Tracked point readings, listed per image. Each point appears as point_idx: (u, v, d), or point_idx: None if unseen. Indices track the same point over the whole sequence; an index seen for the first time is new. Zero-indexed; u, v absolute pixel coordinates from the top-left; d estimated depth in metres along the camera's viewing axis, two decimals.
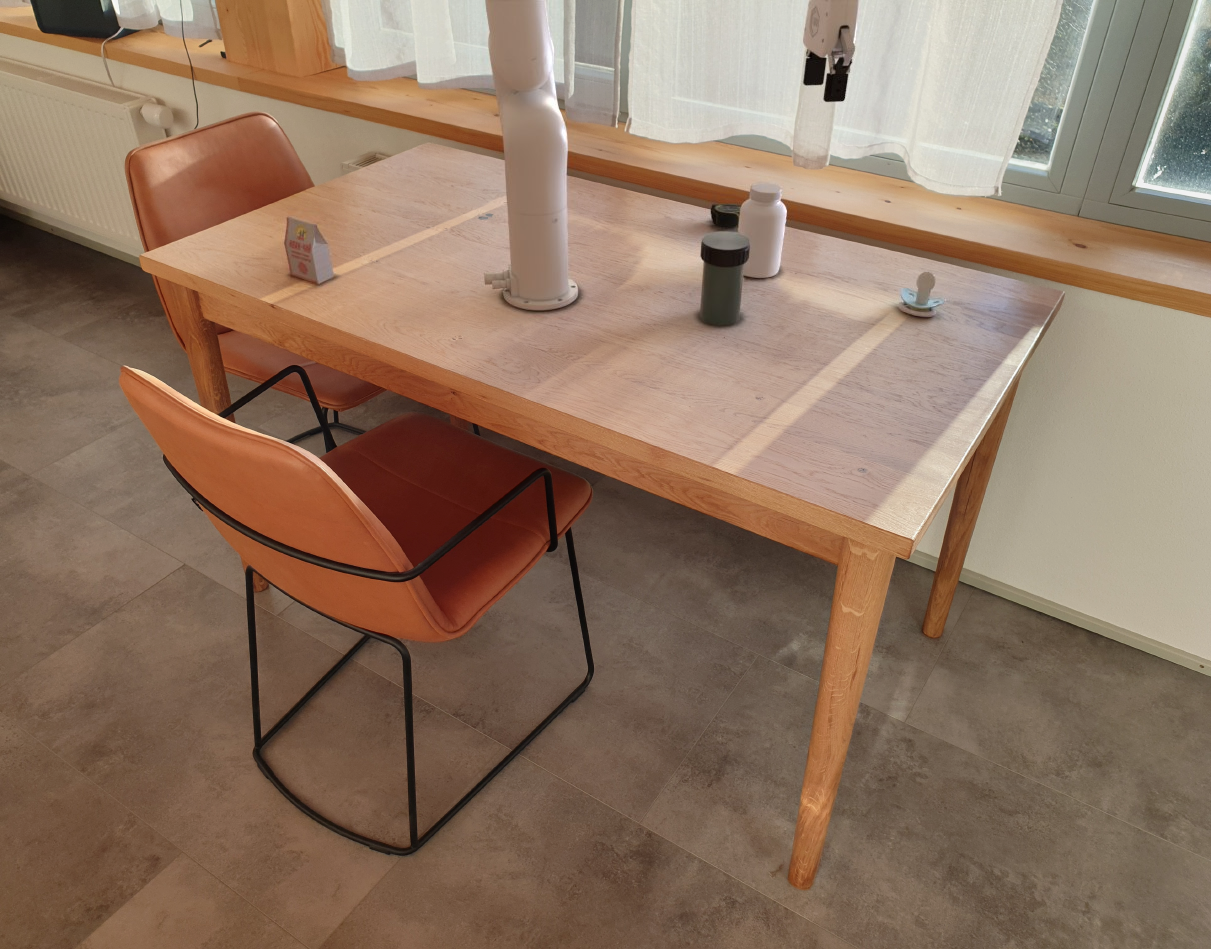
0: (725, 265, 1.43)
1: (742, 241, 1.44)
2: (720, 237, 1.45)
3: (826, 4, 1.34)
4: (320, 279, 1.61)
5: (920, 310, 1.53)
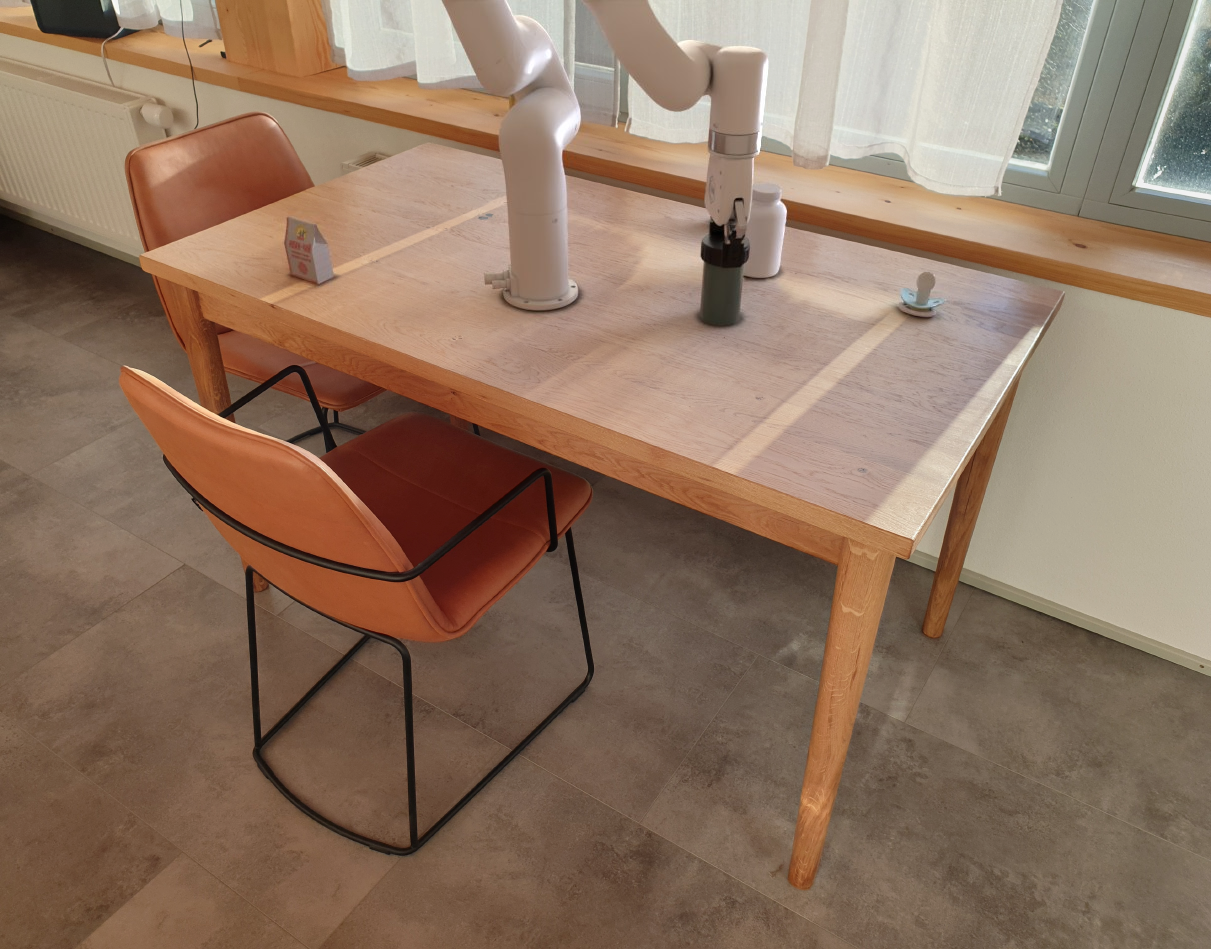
0: None
1: None
2: (720, 237, 1.45)
3: (720, 178, 1.34)
4: (320, 279, 1.61)
5: (920, 310, 1.53)
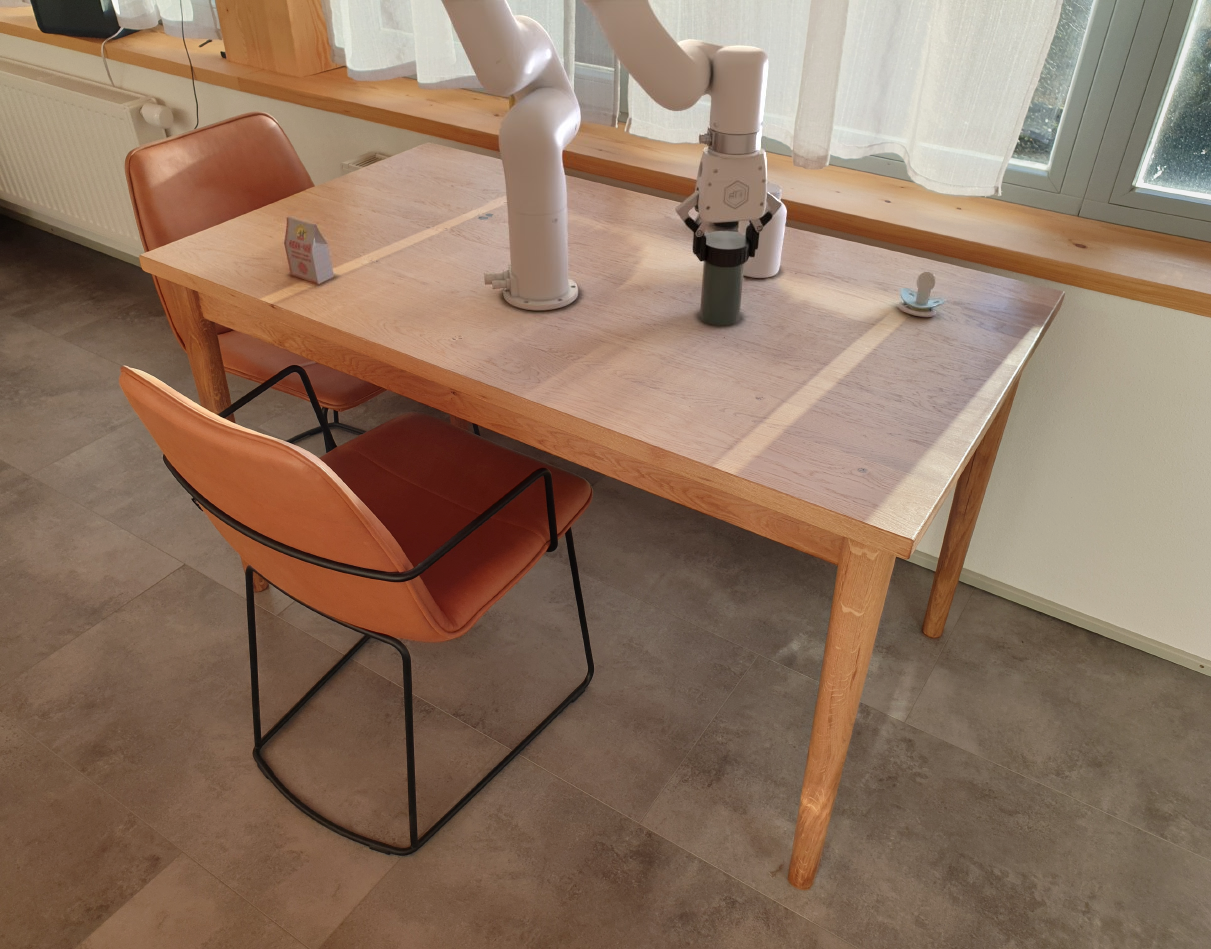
0: None
1: (725, 233, 1.46)
2: (719, 241, 1.43)
3: (760, 173, 1.36)
4: (320, 279, 1.61)
5: (920, 310, 1.53)
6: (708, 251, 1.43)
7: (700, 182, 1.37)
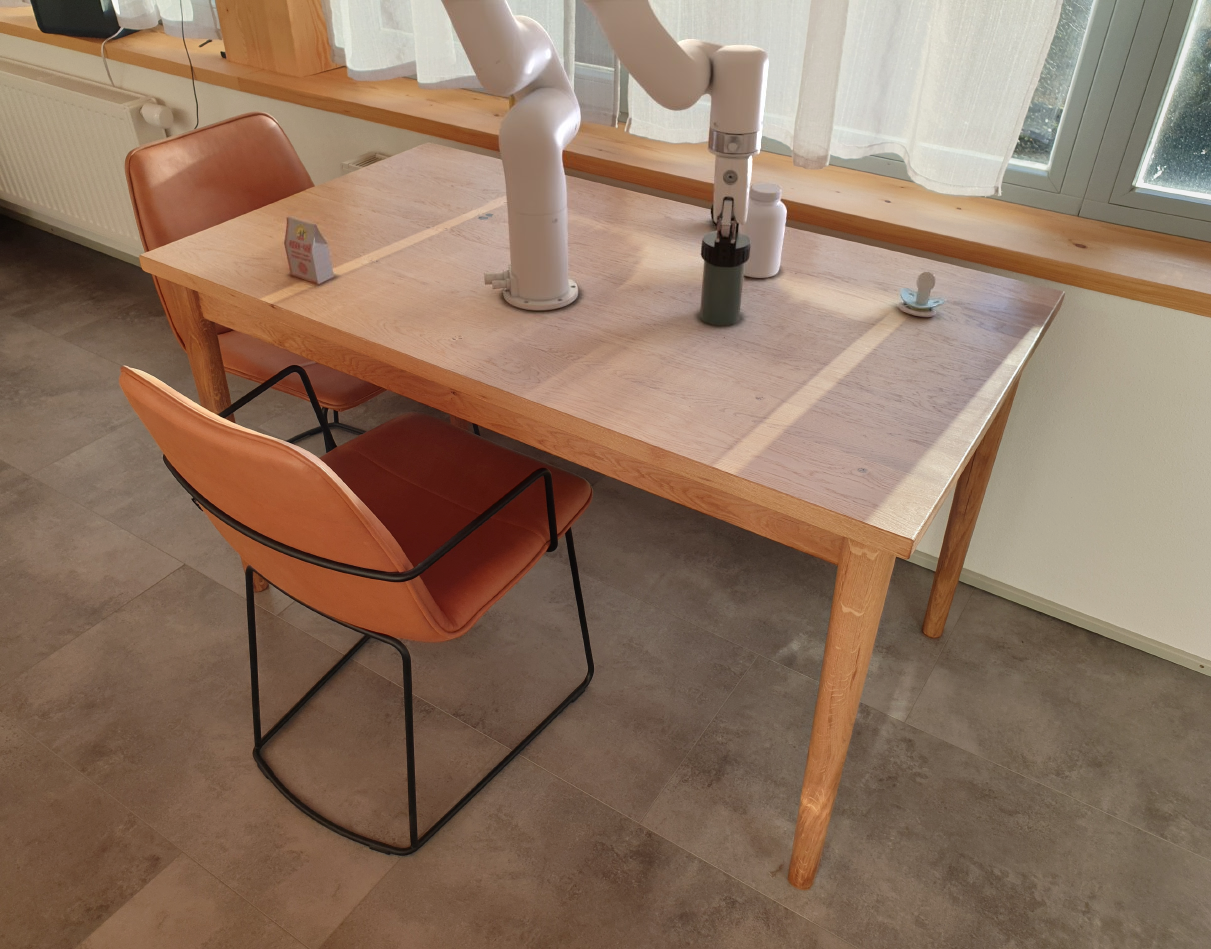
0: None
1: (711, 236, 1.45)
2: None
3: None
4: (320, 279, 1.61)
5: (920, 310, 1.53)
6: None
7: (735, 189, 1.34)
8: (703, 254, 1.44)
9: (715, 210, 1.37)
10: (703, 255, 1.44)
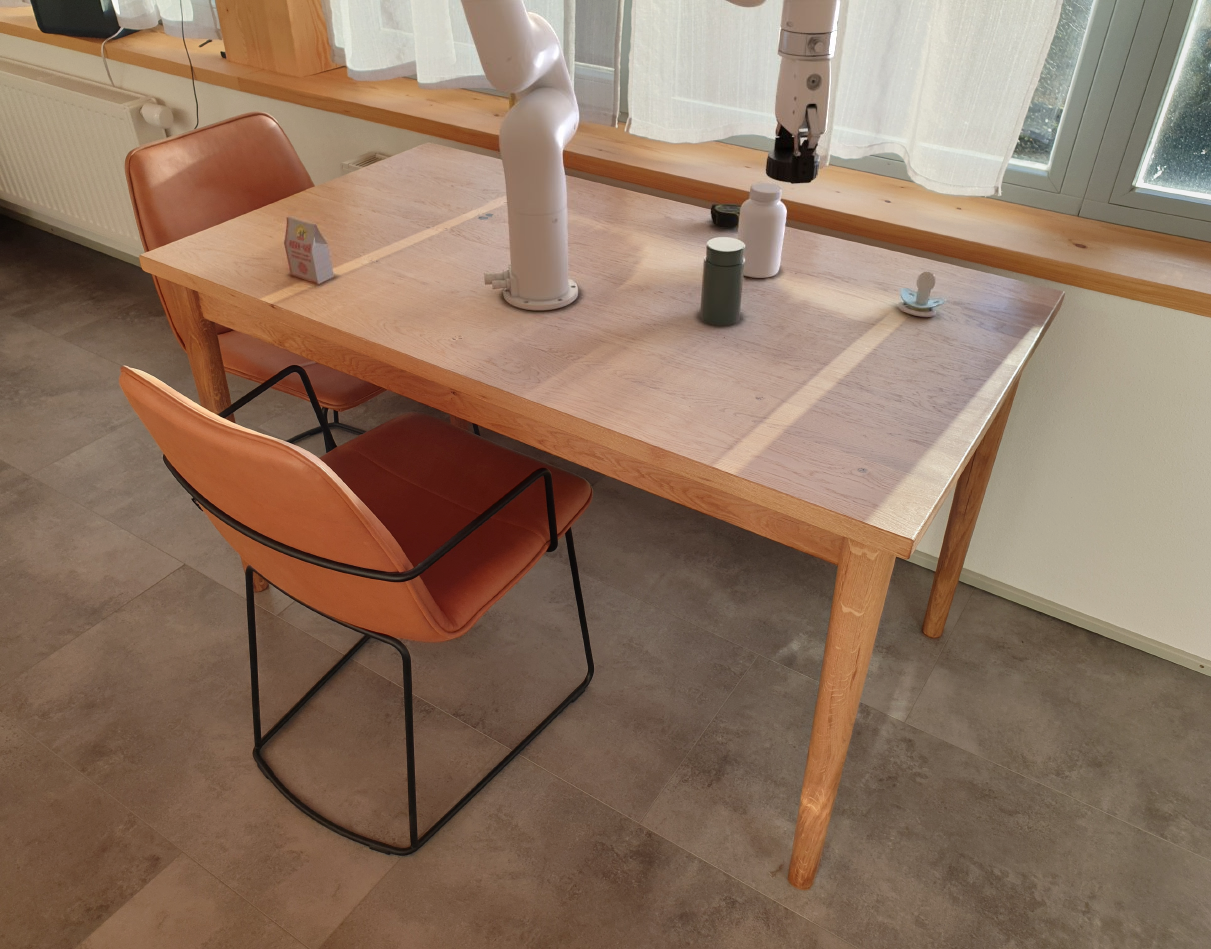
0: None
1: (775, 154, 1.36)
2: None
3: None
4: (320, 279, 1.61)
5: (920, 310, 1.53)
6: None
7: (818, 95, 1.26)
8: (773, 173, 1.35)
9: (797, 120, 1.28)
10: (773, 174, 1.35)
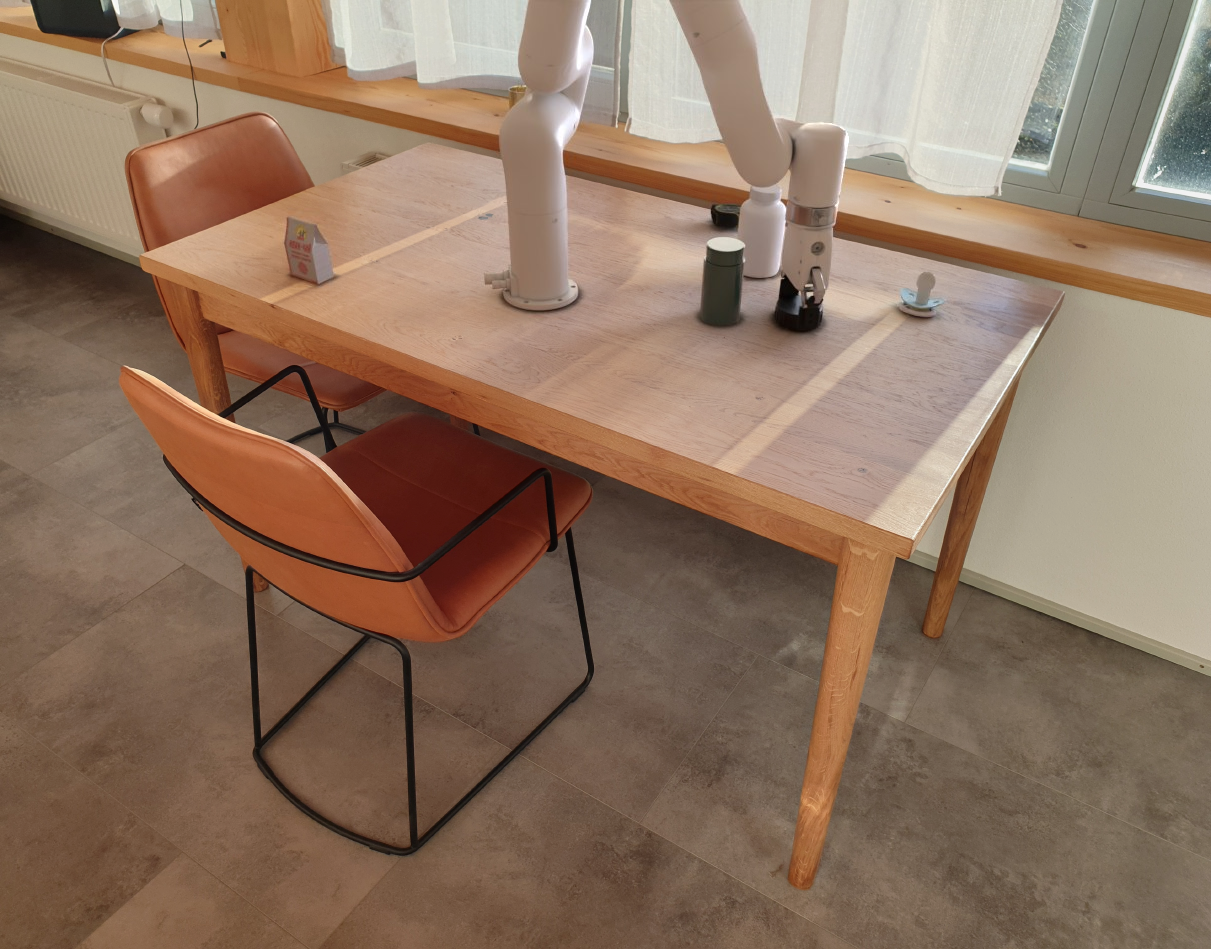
0: None
1: (783, 303, 1.49)
2: None
3: None
4: (320, 279, 1.61)
5: (920, 310, 1.53)
6: None
7: (822, 259, 1.39)
8: (781, 322, 1.48)
9: (802, 280, 1.41)
10: (781, 323, 1.48)
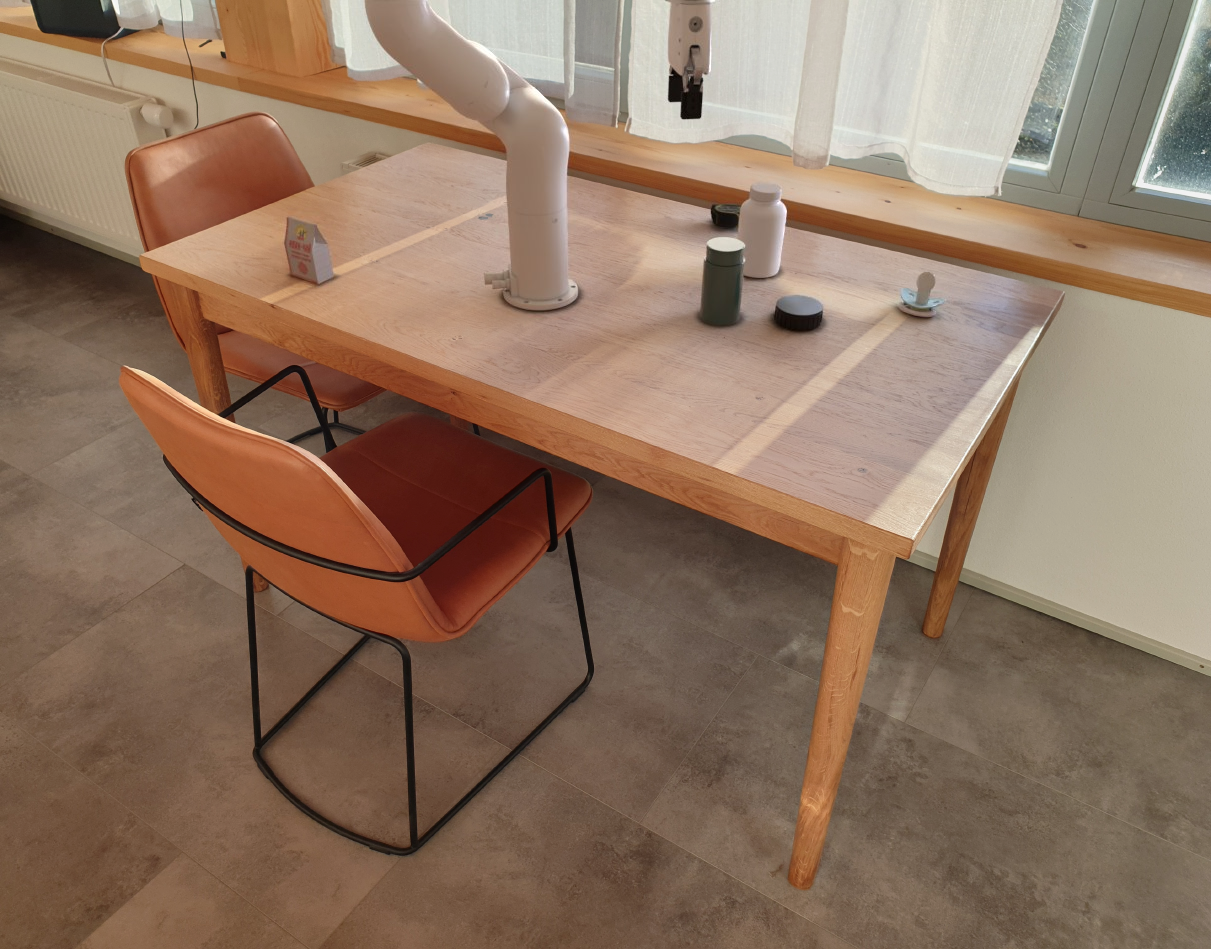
0: None
1: (783, 303, 1.49)
2: (805, 308, 1.48)
3: None
4: (320, 279, 1.61)
5: (920, 310, 1.53)
6: (814, 319, 1.47)
7: (700, 36, 1.37)
8: (781, 322, 1.48)
9: (682, 61, 1.38)
10: (781, 323, 1.48)
